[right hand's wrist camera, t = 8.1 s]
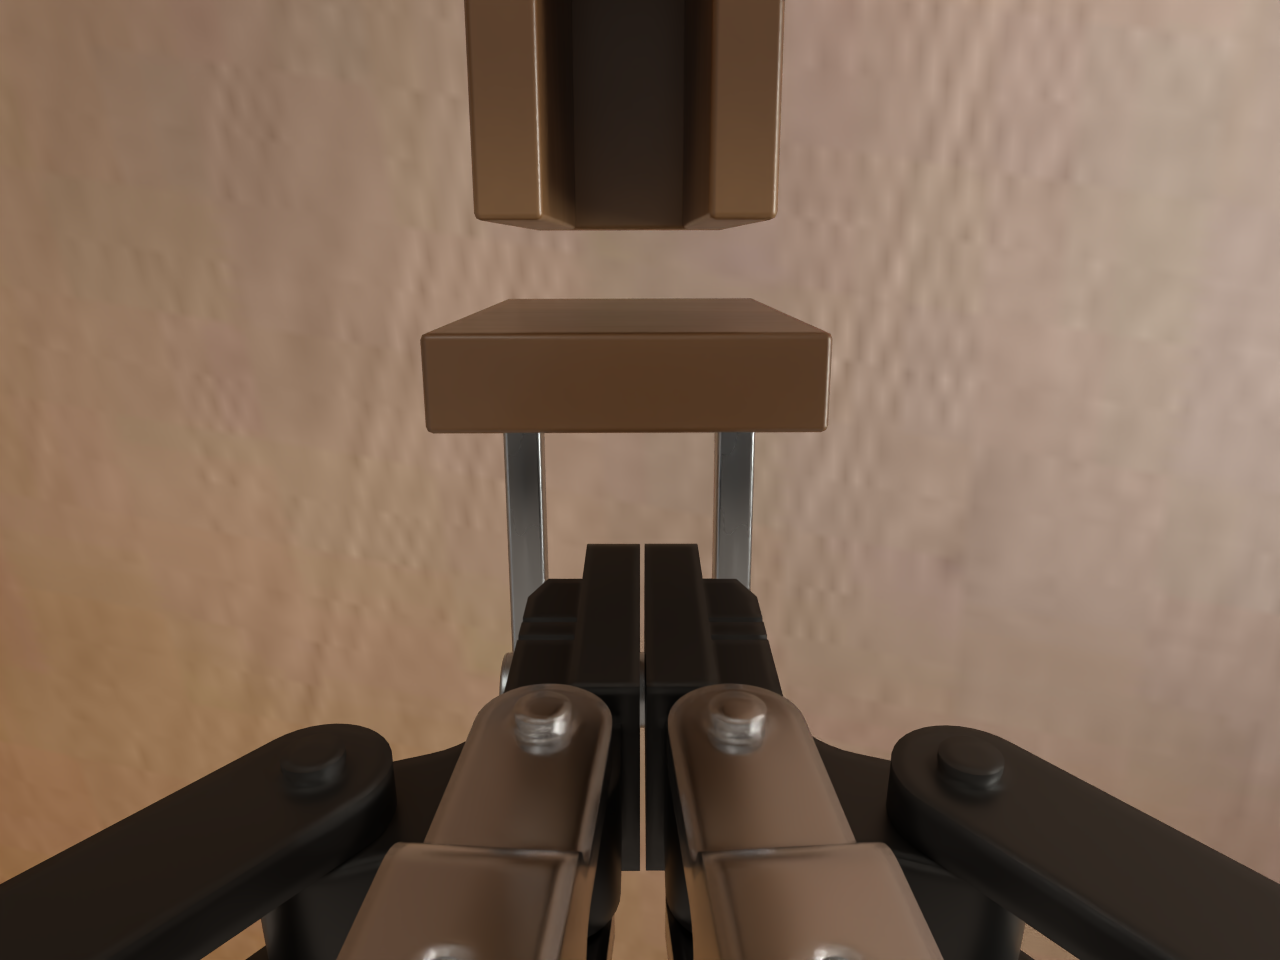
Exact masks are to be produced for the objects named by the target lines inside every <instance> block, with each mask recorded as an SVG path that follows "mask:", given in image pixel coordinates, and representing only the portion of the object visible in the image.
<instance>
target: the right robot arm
mask: <svg viewBox="0 0 1280 960" xmlns="http://www.w3.org/2000/svg"><path fill="white" fill-rule="evenodd" d="M644 694H645V814H646V870H665V888H666V912H665V938H666V946H667V954H668V960H1034V959H1033V958H1031V957H1030V956H1028V955H1027V954H1026V953H1024V952H1023V951H1021V950H1020V948H1021V943H1022V938H1023V933H1024V927H1025V923H1027V924H1028V925H1030V926H1031V927H1033V928H1034V929H1036V930H1037V931H1038V932H1040V933H1041V934H1043V935H1044V936H1046V937H1047V938H1049V939H1050V940H1052V941H1053V942H1055V943H1056V944H1058V945H1059V946H1061V947H1062V948H1063V949H1065V950H1066V951H1068V952H1069V953H1071V954H1072V955H1074V956H1075V957H1077V958H1078V959H1080V960H1280V884H1278V883H1276V882H1274V881H1273V880H1271V879H1269V878H1267V877H1265V876H1263V875H1261V874H1259V873H1257V872H1255V871H1254V870H1252V869H1250V868H1248V867H1246V866H1244V865H1242V864H1240V863H1238V862H1236V861H1235V860H1233V859H1231V858H1229V857H1227V856H1225V855H1223V854H1221V853H1219V852H1218V851H1216V850H1214V849H1212V848H1210V847H1208V846H1206V845H1204V844H1202V843H1200V842H1199V841H1197V840H1195V839H1193V838H1191V837H1189V836H1187V835H1185V834H1183V833H1182V832H1180V831H1178V830H1176V829H1174V828H1172V827H1170V826H1168V825H1166V824H1164V823H1163V822H1161V821H1159V820H1157V819H1155V818H1153V817H1151V816H1149V815H1147V814H1145V813H1144V812H1142V811H1140V810H1138V809H1136V808H1134V807H1132V806H1130V805H1128V804H1127V803H1125V802H1123V801H1121V800H1119V799H1117V798H1115V797H1113V796H1111V795H1109V794H1108V793H1106V792H1104V791H1102V790H1100V789H1098V788H1096V787H1094V786H1092V785H1090V784H1089V783H1087V782H1085V781H1083V780H1081V779H1079V778H1077V777H1075V776H1073V775H1072V774H1070V773H1068V772H1066V771H1064V770H1062V769H1060V768H1058V767H1056V766H1054V765H1053V764H1051V763H1049V762H1047V761H1045V760H1043V759H1041V758H1039V757H1037V756H1035V755H1034V754H1032V753H1030V752H1028V751H1026V750H1024V749H1022V748H1020V747H1018V746H1017V745H1015V744H1013V743H1011V742H1009V741H1007V740H1005V739H1002V738H1000V737H998V736H995V735H993V734H990V733H987V732H984V731H980V730H976V729H972V728H966V727H960V726H931V727H924V728H921V729H918V730H914V731H912V732H910V733H908V734H906V735H905V736H903V737H902V738H901V739H900V740H899V741H898V742H897V743H896V745H895V746H894V748H893V751H892V755H891V761H889V760H885V759H880V758H875V757H870V756H866V755H861V754H856V753H852V752H848V751H845V750H841V749H838V748H836V747H833V746H830V745H828V744H826V743H824V742H821V741H819V740H817V739H816V738H814V737H813V736H812V735H811V732H810V730H809V728H808V725H807V723H806V721H805V718H804V717H803V715H802V713H801V712H800V710H799V709H798V708H797V707H796V706H795V705H794V704H793V703H791V702H790V701H789V700H788V699H786V698H784V697H783V694H782V691H781V687H780V683H779V679H778V675H777V672H776V668H775V664H774V660H773V656H772V653H771V649H770V645H769V641H768V640H767V634H766V630H765V626H764V622H762V615H761V611H760V607H759V603H758V600H757V597H756V596H755V595H754V594H753V593H752V592H751V591H750V590H749V589H747V588H746V587H745V586H744V585H743V584H742V583H741V582H740V581H738V580H737V579H702V572H701V565H700V558H699V552H698V545H697V544H645V586H644ZM621 871H640V544H587V550H586V557H585V564H584V572H583V579H547V580H546V581H545V582H544V583H543V584H542V585H541V586H540V587H539V588H537V589H536V590H535V591H534V592H533V593H532V594H531V595H530V596H529V597H528V599H527V603H526V607H525V611H524V615H523V622H522V623H521V627H520V631H519V635H518V640H517V643H516V647H515V651H514V654H513V658H512V662H511V666H510V670H509V674H508V678H507V682H506V686H505V690H504V693H503V694H501V695H499V696H497V697H496V698H494V699H492V700H491V701H490V702H489V703H487V704H486V705H485V706H484V707H483V708H482V709H481V710H480V712H479V713H478V715H477V717H476V718H475V721H474V723H473V725H472V728H471V730H470V732H469V735H468V737H467V740H466V742H463V743H461V744H459V745H457V746H454V747H452V748H449V749H446V750H443V751H439V752H435V753H432V754H427V755H422V756H418V757H413V758H408V759H404V760H399V761H394V762H393V759H392V751H391V748H390V746H389V743H388V742H387V741H386V740H385V738H384V737H382V736H381V735H380V734H378V733H377V732H375V731H373V730H371V729H369V728H365V727H362V726H358V725H351V724H325V725H318V726H312V727H308V728H304V729H300V730H297V731H294V732H291V733H288V734H286V735H284V736H281V737H279V738H277V739H275V740H273V741H271V742H269V743H267V744H265V745H263V746H262V747H260V748H258V749H256V750H254V751H252V752H250V753H248V754H246V755H245V756H243V757H241V758H239V759H237V760H235V761H233V762H231V763H229V764H227V765H226V766H224V767H222V768H220V769H218V770H216V771H214V772H212V773H210V774H209V775H207V776H205V777H203V778H201V779H199V780H197V781H195V782H193V783H191V784H190V785H188V786H186V787H184V788H182V789H180V790H178V791H176V792H174V793H172V794H171V795H169V796H167V797H165V798H163V799H161V800H159V801H157V802H155V803H154V804H152V805H150V806H148V807H146V808H144V809H142V810H140V811H138V812H136V813H135V814H133V815H131V816H129V817H127V818H125V819H123V820H121V821H119V822H117V823H116V824H114V825H112V826H110V827H108V828H106V829H104V830H102V831H100V832H99V833H97V834H95V835H93V836H91V837H89V838H87V839H85V840H83V841H81V842H80V843H78V844H76V845H74V846H72V847H70V848H68V849H66V850H64V851H62V852H61V853H59V854H57V855H55V856H53V857H51V858H49V859H47V860H45V861H44V862H42V863H40V864H38V865H36V866H34V867H32V868H30V869H28V870H26V871H25V872H23V873H21V874H19V875H17V876H15V877H13V878H11V879H9V880H8V881H6V882H4V883H2V884H0V960H200V959H202V958H203V957H205V956H206V955H208V954H209V953H211V952H212V951H214V950H215V949H217V948H218V947H219V946H221V945H222V944H224V943H225V942H227V941H228V940H230V939H231V938H233V937H234V936H236V935H237V934H239V933H240V932H242V931H243V930H244V929H246V928H247V927H249V926H250V925H252V924H253V923H255V922H256V921H258V920H259V919H261V922H262V927H263V933H264V938H265V943H266V946H264V947H263V948H262V949H260V950H259V951H257V952H256V953H254V954H253V955H252V956H250V957H249V958H247V959H246V960H612V954H613V946H614V938H615V912H616V910H617V907H618V905H619V902H620V894H621Z"/></svg>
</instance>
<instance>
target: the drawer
mask: <svg viewBox="0 0 1280 960" xmlns="http://www.w3.org/2000/svg"><path fill="white" fill-rule="evenodd" d="M784 6H785V0H464V7H465V28H466V50H467V71H468V92H469V113H470V135H471V156H472V177H473V198H474V214H475V216H476V218H477V219H479V220H482V221H488V222H494V223H499V224H505V225H511V226H517V227H523V228H529V229H534V230H722V229H726V228H731V227H736V226H741V225H746V224H751V223H756V222H761V221H766V220H770V219H772V218H775V216H776V214H777V208H778V179H779V150H780V121H781V93H782V64H783V35H784ZM420 341H421V357H422V373H423V388H424V404H425V420H426V428H427V430H428V431H429V432H431V433H503V436H504V460H505V484H506V508H507V531H508V555H509V579H510V603H511V627H512V651H513V653H506V654H505V656H504V658H503V662H502V667H501V675H500V691H499V695H501V694H503V693H504V690H505V686H506V682H507V678H508V674H509V670H510V666H511V662H512V658H513V654H514V651H515V647H516V643H517V640H518V635H519V631H520V627H521V623H522V622H523V615H524V611H525V607H526V603H527V599H528V597H529V596H530V595H531V594H532V593H533V592H534V591H535V590H536V589H537V588H539V587H540V586H541V585H542V584H543V583H544V582H545V581H546V580H547V579H549V578H548V545H547V511H546V478H545V445H544V433H685V432H715V448H714V501H713V553H712V579H737V580H738V581H740V582H741V583H742V584H743V585H744V586H745V587H746V588H747V589H749V590H750V581H751V548H752V515H753V483H754V450H755V432H822V431H824V430H826V428H827V426H828V413H829V394H830V374H831V355H832V337H831V334H830V333H827V332H825V331H823V330H821V329H818V328H816V327H814V326H812V325H809V324H807V323H805V322H803V321H800V320H798V319H796V318H794V317H792V316H789V315H787V314H785V313H783V312H780V311H778V310H776V309H774V308H771V307H769V306H767V305H765V304H762V303H760V302H758V301H756V300H753V299H751V298H742V299H508V300H506V301H503V302H501V303H498V304H496V305H494V306H491V307H489V308H486V309H484V310H481V311H479V312H477V313H474V314H472V315H469V316H467V317H464V318H462V319H460V320H457V321H455V322H452V323H450V324H448V325H445V326H443V327H440V328H438V329H435V330H433V331H431V332H428V333H426V334H424V335H422V337H421V340H420ZM640 728H645V694H644V652H640Z"/></svg>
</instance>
